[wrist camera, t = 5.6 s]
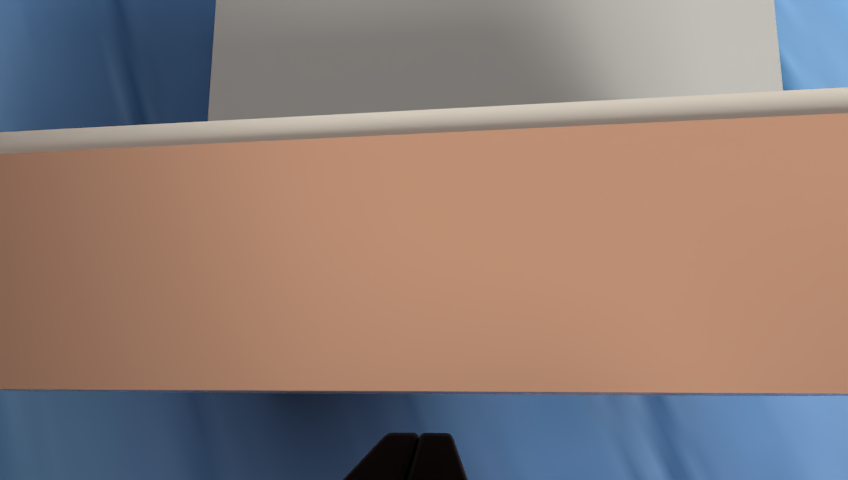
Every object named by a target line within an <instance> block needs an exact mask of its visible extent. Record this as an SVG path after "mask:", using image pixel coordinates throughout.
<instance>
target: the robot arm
mask: <svg viewBox="0 0 848 480" xmlns="http://www.w3.org/2000/svg"><path fill="white" fill-rule="evenodd" d="M343 480H468V479H467V476H466V474H465V471H464V468H463V465H462V462H461V459H460V456H459V454H458V451H457V448H456V445H455V442H454V439H453V437H452V436H451V435H450V434H448V433H423V434H422V435H421V436H420V437H419V436H418V435H417V434H416V433H388V434H387V435H385V436H384V437H383V438H382V439H381V440H380V441H379V443H378V444H377V445H376V446H375V447H374V448H373V449H372V450H371V451H370V452H369V453H368V454H367V455H366V456H365V457H364V458H363V459H362V460H361V461H360V463H359V464H358V465H357V466H356V467H355V468H354V469H353V470H352V471H351V472H350V473H349V474H348V475H347V476H346V477H345V478H344V479H343Z"/></svg>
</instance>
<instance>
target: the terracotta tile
mask: <svg viewBox="0 0 848 480" xmlns="http://www.w3.org/2000/svg"><path fill="white" fill-rule="evenodd" d="M0 390H4V391H100V392H196V393H312V394H486V395H660V396H848V87H846V88H827V89H808V90H790V91H771V92H752V93H733V94H714V95H695V96H676V97H657V98H638V99H619V100H600V101H581V102H562V103H544V104H525V105H506V106H487V107H468V108H449V109H430V110H411V111H392V112H373V113H354V114H335V115H316V116H298V117H279V118H260V119H241V120H222V121H203V122H184V123H165V124H146V125H127V126H108V127H89V128H70V129H52V130H33V131H14V132H0Z"/></svg>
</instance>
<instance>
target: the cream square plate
mask: <svg viewBox="0 0 848 480" xmlns="http://www.w3.org/2000/svg"><path fill="white" fill-rule="evenodd" d="M771 91H783V87H782V77H781V67H780V57H779V47H778V37H777V27H776V17H775V7H774V0H216V9H215V24H214V38H213V52H212V67H211V81H210V95H209V109H208V121H222V120H241V119H260V118H279V117H298V116H316V115H335V114H354V113H373V112H392V111H411V110H430V109H449V108H468V107H487V106H506V105H525V104H544V103H562V102H581V101H600V100H619V99H638V98H657V97H676V96H695V95H714V94H733V93H752V92H771Z"/></svg>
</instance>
